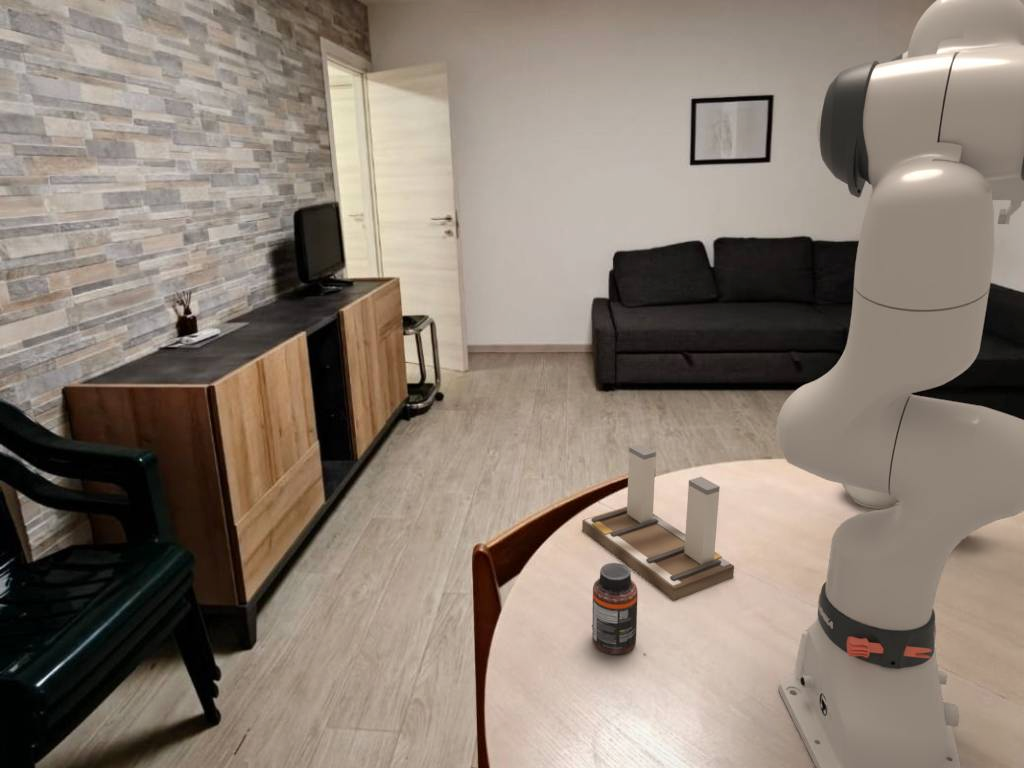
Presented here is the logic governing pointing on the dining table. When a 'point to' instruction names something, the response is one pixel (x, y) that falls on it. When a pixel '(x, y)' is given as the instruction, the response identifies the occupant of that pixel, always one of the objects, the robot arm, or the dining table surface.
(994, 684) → the dining table surface
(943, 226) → the robot arm
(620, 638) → the supplement bottle
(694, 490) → the tab
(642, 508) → the tab
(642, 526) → the slotted wooden base
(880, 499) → the lidded bowl
